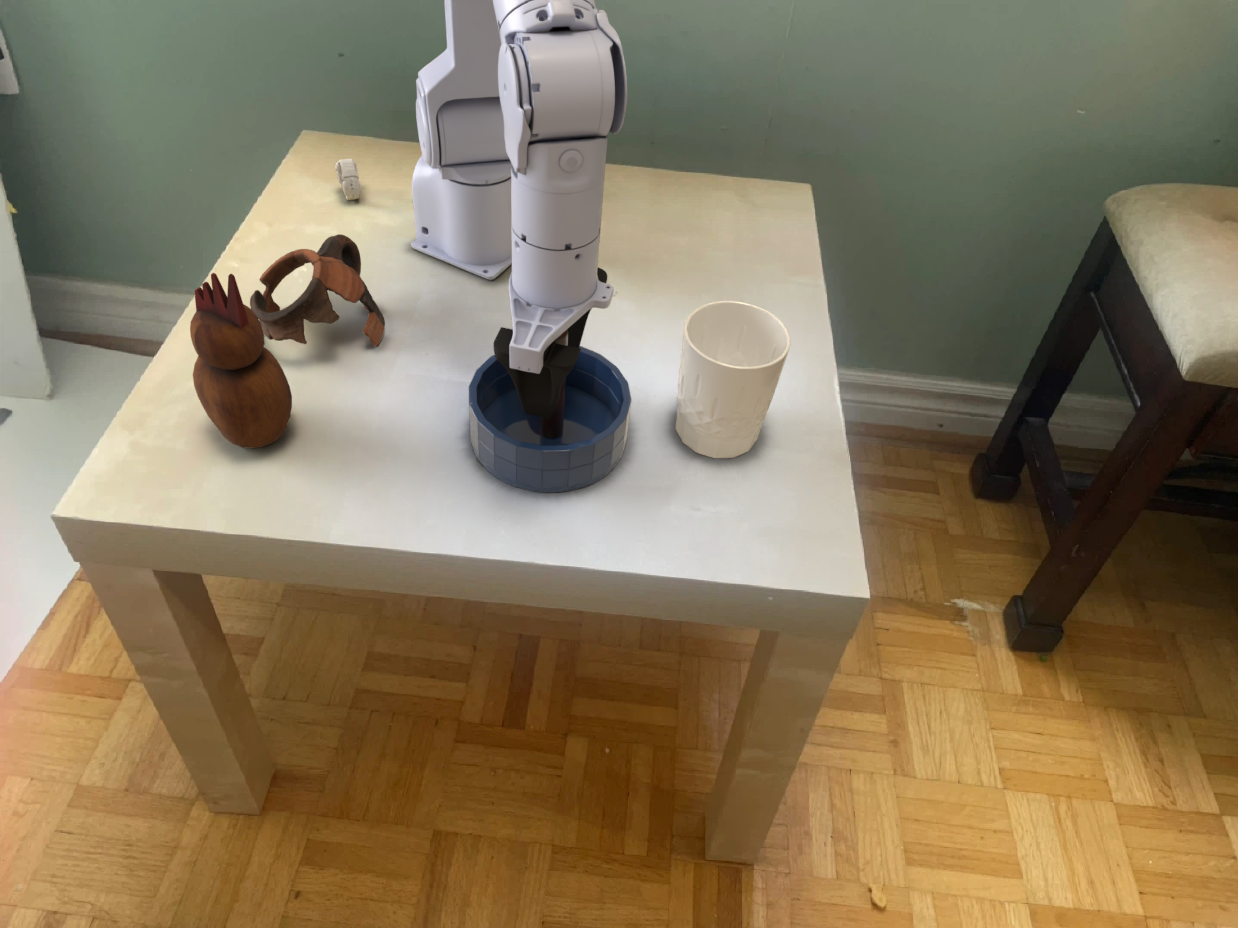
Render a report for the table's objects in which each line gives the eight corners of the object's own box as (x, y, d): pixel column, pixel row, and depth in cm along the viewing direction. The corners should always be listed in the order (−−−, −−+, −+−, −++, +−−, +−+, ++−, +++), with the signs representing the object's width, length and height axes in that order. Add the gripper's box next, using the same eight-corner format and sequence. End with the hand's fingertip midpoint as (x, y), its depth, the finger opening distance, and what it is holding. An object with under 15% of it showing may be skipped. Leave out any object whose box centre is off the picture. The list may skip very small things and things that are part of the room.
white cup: (737, 480, 71) (762, 383, 63) (650, 436, 73) (664, 339, 66) (780, 422, 76) (807, 326, 68) (696, 384, 78) (715, 287, 71)
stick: (535, 433, 72) (537, 332, 64) (548, 419, 73) (551, 319, 66) (555, 442, 71) (559, 342, 64) (567, 428, 72) (572, 329, 65)
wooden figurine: (313, 436, 70) (276, 273, 59) (244, 472, 67) (191, 308, 56) (265, 390, 73) (221, 227, 62) (197, 423, 70) (139, 258, 59)
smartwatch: (365, 205, 93) (360, 168, 90) (343, 207, 92) (337, 171, 89) (359, 187, 95) (354, 151, 92) (337, 189, 94) (332, 153, 91)
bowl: (439, 450, 70) (435, 408, 67) (526, 364, 78) (526, 322, 75) (575, 516, 67) (578, 475, 64) (652, 419, 75) (658, 378, 71)
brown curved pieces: (381, 374, 76) (315, 315, 70) (293, 391, 80) (224, 337, 74) (409, 263, 82) (351, 199, 76) (326, 284, 86) (264, 224, 79)
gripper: (591, 303, 53) (579, 462, 63) (638, 180, 63) (622, 335, 73) (474, 280, 54) (481, 441, 64) (540, 162, 64) (537, 318, 74)
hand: (550, 383), depth 68 cm, fingers open, 6 cm apart
